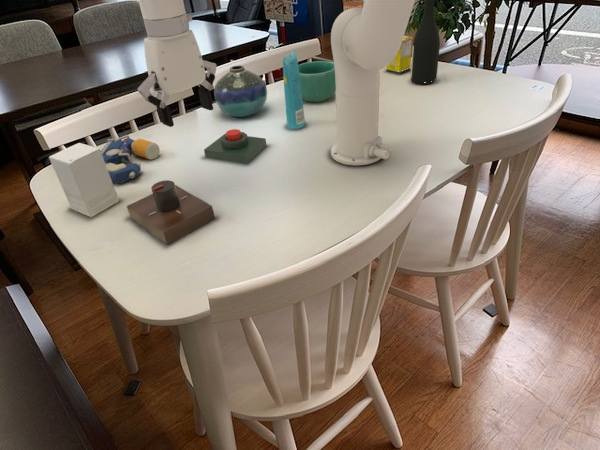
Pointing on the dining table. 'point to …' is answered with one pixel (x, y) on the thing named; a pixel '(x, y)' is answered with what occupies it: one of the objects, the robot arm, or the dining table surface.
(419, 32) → the wine bottle
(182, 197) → the panel
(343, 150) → the robot arm
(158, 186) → the dial
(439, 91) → the dining table surface
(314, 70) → the mug
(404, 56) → the supplement box
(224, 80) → the vase
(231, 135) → the button
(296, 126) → the tube
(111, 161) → the spray gun
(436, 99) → the dining table surface
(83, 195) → the white packaging box
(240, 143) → the button block
